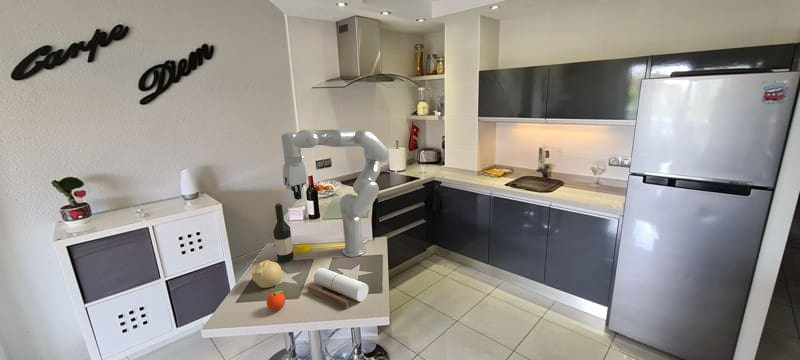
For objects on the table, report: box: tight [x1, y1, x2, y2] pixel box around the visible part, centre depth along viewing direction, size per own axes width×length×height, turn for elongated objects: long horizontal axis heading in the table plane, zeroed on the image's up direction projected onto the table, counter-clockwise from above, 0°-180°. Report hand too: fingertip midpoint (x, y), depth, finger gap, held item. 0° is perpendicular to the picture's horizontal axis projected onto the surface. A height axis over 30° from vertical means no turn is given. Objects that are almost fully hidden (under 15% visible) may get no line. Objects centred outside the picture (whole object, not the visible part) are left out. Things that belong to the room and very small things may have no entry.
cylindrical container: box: [313, 267, 369, 302], centre depth 139 cm, size 7×7×25 cm
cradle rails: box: [307, 284, 350, 310], centre depth 139 cm, size 13×22×3 cm, turn 56°
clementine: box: [266, 290, 286, 312], centre depth 130 cm, size 8×7×7 cm
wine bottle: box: [272, 203, 295, 264], centre depth 166 cm, size 8×8×30 cm
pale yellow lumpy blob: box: [251, 259, 283, 289], centre depth 147 cm, size 12×12×11 cm
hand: (298, 198), depth 153 cm, fingers closed
